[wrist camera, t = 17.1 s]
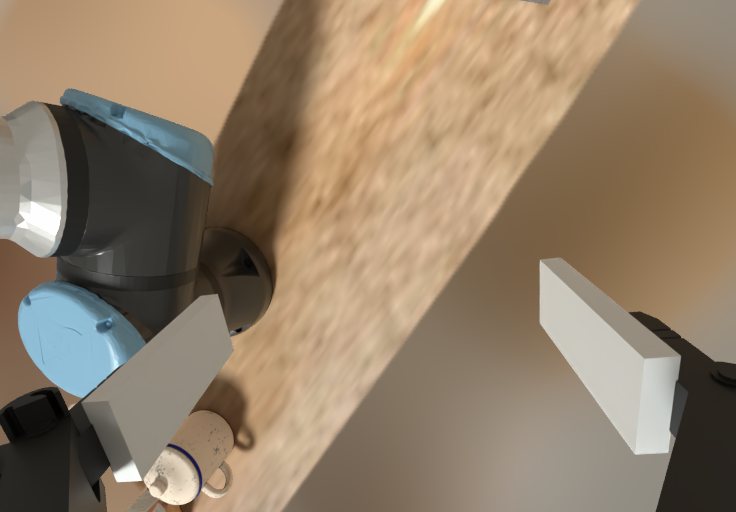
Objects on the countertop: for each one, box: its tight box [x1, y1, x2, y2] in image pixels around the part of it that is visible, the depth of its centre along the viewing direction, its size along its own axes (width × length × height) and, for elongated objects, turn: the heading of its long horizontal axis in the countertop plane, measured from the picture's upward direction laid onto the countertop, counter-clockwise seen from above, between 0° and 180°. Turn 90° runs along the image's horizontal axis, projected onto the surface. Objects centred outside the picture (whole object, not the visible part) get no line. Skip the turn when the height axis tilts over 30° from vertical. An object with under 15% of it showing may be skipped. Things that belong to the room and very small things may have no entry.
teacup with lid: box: [144, 410, 234, 505], centre depth 55 cm, size 12×9×12 cm
